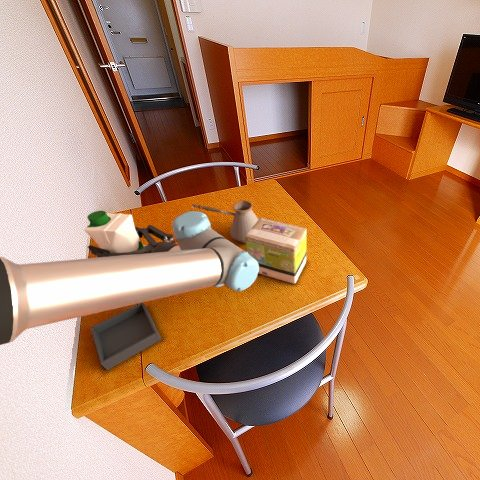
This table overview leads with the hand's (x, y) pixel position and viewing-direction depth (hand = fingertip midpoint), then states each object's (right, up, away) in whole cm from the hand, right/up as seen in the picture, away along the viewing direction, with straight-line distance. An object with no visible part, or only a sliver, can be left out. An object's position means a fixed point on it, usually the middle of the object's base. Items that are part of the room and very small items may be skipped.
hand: (107, 238), depth 77 cm
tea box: (+47, -9, +10) cm, 48 cm away
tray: (+13, -24, -10) cm, 29 cm away
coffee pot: (+29, 0, +20) cm, 35 cm away
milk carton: (+4, -10, +6) cm, 12 cm away
